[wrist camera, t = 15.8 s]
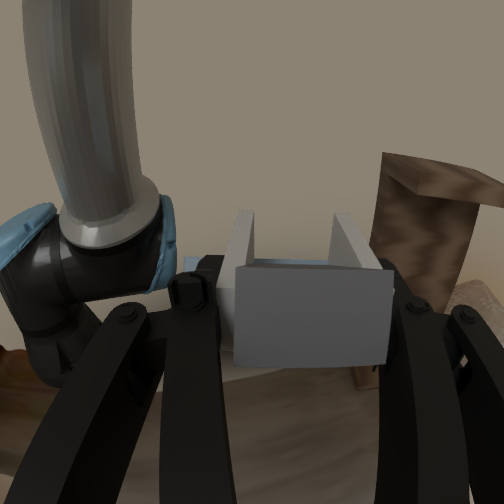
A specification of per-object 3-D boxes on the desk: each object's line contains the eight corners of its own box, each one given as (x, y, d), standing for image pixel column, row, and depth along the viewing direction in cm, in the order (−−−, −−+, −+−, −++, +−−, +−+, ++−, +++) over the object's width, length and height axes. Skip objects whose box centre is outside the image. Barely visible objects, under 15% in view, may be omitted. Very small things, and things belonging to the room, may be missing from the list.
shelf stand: (355, 389, 33) (420, 171, 19) (344, 342, 41) (382, 152, 27) (439, 378, 32) (519, 192, 18) (421, 337, 40) (474, 169, 26)
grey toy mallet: (98, 355, 7) (94, 252, 7) (210, 293, 24) (211, 257, 24) (485, 354, 6) (495, 262, 6) (351, 296, 23) (352, 261, 23)
